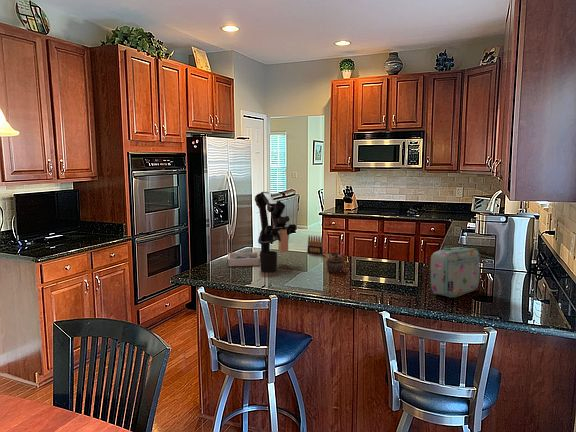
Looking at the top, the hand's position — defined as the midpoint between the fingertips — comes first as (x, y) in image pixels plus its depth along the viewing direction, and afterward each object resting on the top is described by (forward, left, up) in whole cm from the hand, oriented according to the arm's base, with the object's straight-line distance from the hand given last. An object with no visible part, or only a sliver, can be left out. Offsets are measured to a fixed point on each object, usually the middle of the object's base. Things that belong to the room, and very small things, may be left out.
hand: (284, 240), depth 255 cm
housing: (-6, -24, -13) cm, 28 cm away
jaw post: (-1, 0, -7) cm, 7 cm away
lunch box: (+69, +69, -14) cm, 99 cm away
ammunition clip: (-26, +23, -14) cm, 37 cm away
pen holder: (+16, -10, -14) cm, 24 cm away
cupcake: (+21, +25, -14) cm, 36 cm away
